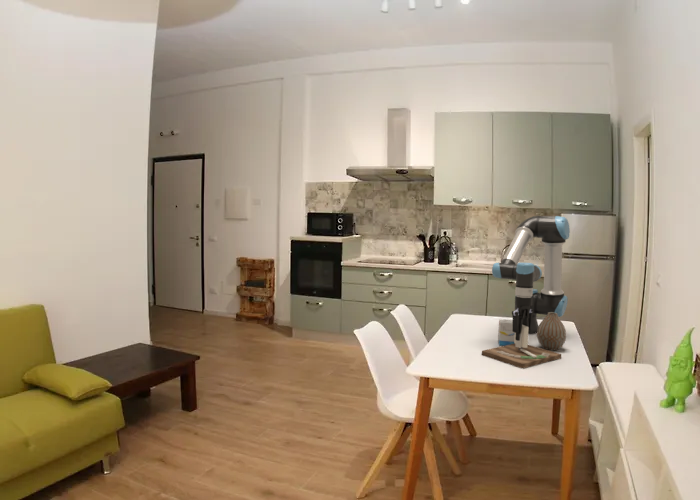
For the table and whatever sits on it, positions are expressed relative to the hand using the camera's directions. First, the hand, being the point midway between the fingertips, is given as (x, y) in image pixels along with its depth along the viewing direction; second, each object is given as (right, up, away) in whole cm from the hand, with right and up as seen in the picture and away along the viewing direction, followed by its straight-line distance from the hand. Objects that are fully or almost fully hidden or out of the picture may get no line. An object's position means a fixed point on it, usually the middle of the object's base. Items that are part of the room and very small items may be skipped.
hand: (521, 346), depth 222 cm
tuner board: (-1, -4, -2) cm, 5 cm away
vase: (+19, -4, +13) cm, 23 cm away
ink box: (0, -3, +19) cm, 19 cm away
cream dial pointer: (+1, -2, -3) cm, 4 cm away
